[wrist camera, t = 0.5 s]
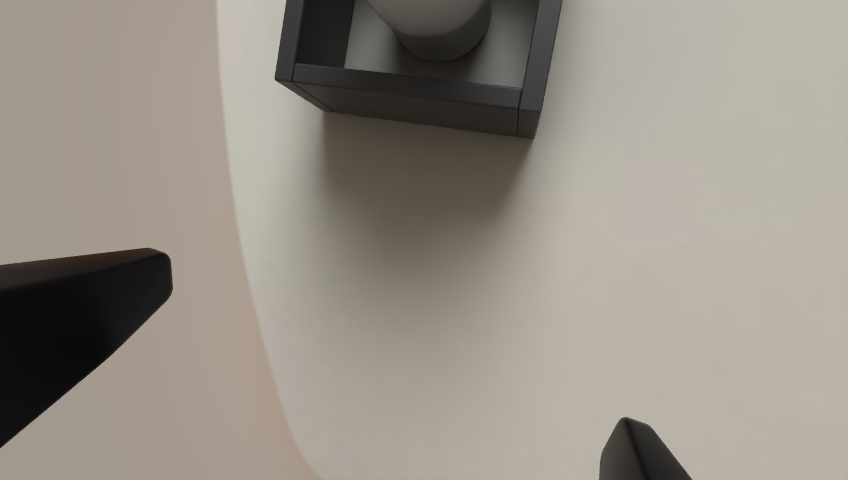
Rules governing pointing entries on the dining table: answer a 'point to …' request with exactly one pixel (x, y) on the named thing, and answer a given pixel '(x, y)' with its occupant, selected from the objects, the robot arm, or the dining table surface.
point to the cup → (436, 25)
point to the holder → (406, 76)
